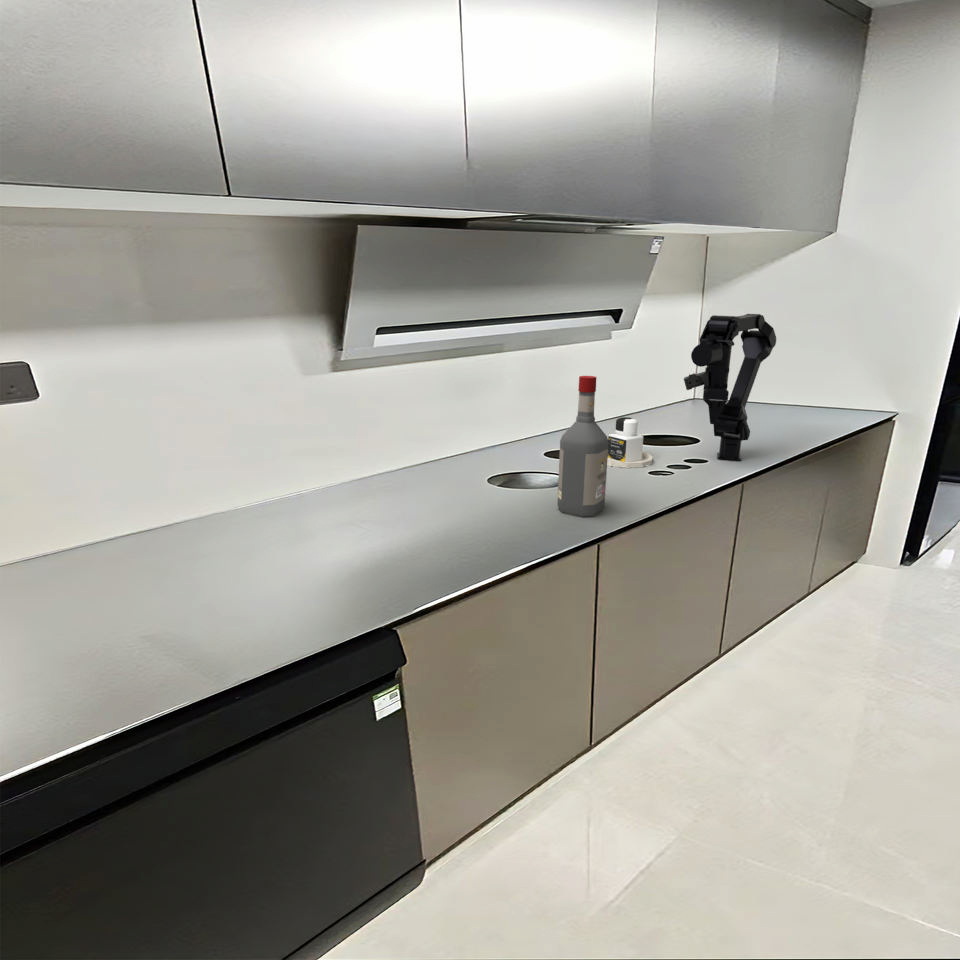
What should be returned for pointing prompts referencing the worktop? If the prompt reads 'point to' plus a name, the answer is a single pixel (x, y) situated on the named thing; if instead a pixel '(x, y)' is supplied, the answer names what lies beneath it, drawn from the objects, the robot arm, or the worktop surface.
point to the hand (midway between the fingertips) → (712, 420)
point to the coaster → (644, 461)
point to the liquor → (583, 459)
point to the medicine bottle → (625, 441)
